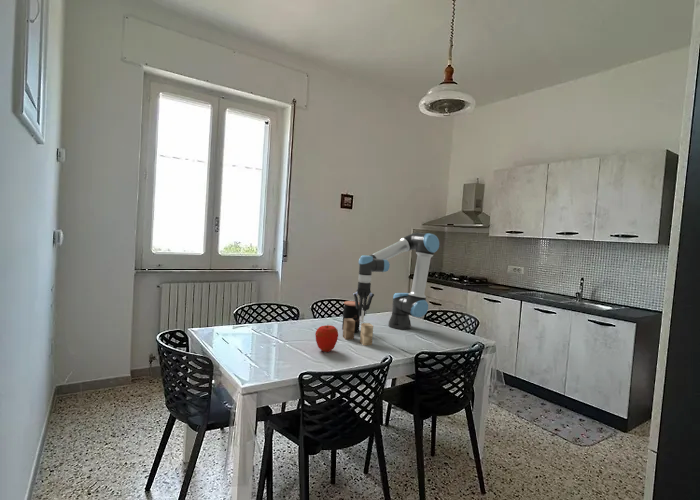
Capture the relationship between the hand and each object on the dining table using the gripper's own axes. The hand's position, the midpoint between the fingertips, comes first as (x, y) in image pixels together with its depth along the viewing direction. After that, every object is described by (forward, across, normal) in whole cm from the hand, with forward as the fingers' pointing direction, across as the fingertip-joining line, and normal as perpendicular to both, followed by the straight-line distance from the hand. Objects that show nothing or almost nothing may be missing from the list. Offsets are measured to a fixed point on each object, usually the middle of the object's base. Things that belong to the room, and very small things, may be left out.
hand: (361, 321), depth 233 cm
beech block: (+10, 0, +11) cm, 15 cm away
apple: (+10, +26, +21) cm, 35 cm away
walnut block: (+10, +8, 0) cm, 13 cm away
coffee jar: (+10, +2, -14) cm, 17 cm away
